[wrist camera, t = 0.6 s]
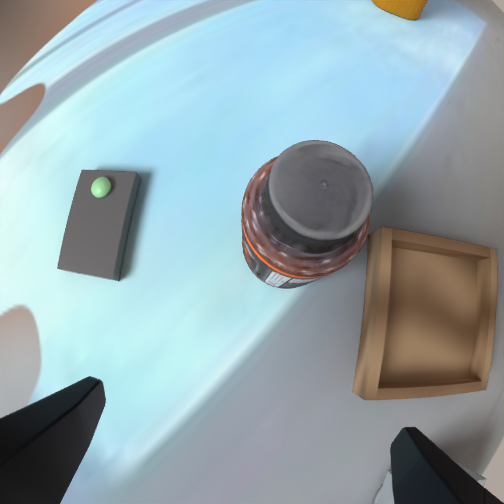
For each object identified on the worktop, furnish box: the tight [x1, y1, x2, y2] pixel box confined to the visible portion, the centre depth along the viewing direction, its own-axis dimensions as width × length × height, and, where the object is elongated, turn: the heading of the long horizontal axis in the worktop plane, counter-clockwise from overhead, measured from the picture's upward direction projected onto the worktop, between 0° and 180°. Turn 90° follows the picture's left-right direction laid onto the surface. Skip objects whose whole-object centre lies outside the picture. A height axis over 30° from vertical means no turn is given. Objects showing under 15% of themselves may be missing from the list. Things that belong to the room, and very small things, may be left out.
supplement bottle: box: [241, 140, 373, 289], centre depth 16 cm, size 6×6×11 cm
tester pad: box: [57, 170, 141, 281], centre depth 21 cm, size 8×5×2 cm, turn 173°
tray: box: [352, 226, 497, 400], centre depth 20 cm, size 12×12×2 cm
